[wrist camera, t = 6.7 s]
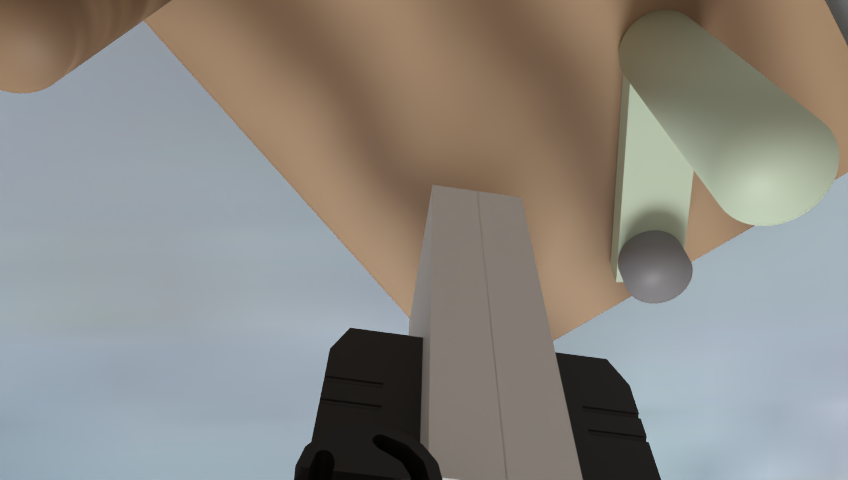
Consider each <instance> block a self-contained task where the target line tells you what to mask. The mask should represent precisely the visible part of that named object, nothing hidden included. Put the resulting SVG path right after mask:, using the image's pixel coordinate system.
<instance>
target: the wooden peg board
mask: <svg viewBox="0 0 848 480" xmlns="http://www.w3.org/2000/svg"><path fill="white" fill-rule="evenodd" d="M663 9H668V10H675V11H679V12H681V13H683V14H685V15H687V16H688V17H690V18H691V19H692V20H694V21H695V22H696V23H697V24H699V25H700V26H701V27H702V28H704V29H705V30H706V31H708V32H709V33H710V34H711V35H713V36H714V37H715V38H716V39H718V40H719V41H720V42H722V43H723V44H724V45H725V46H727V47H728V48H729V49H731V50H732V51H733V52H734V53H736V54H737V55H738V56H739V57H741V58H742V59H743V60H745V61H746V62H747V63H748V64H750V65H751V66H752V67H753V68H755V69H756V70H757V71H759V72H760V73H761V74H762V75H764V76H765V77H766V78H767V79H769V80H770V81H771V82H773V83H774V84H775V85H776V86H778V87H779V88H780V89H781V90H783V91H784V92H785V93H787V94H788V95H789V96H790V97H792V98H793V99H794V100H795V101H797V102H798V103H799V104H801V105H802V106H803V107H804V108H806V109H807V110H808V111H810V112H811V113H812V114H813V115H815V116H816V117H817V118H818V119H820V120H821V121H822V122H823V123H824V124H826V125H827V126H828V127H829V129H830V130H831V131H832V133H833V134H834V136H835V138H836V141H837V144H838V148H839V167H838V171H837V174H836V177H835V179H837V178H839V177H840V176H842V175H844V174H846V173H847V172H848V45H847V43H846V41H845V39H844V37H843V35H842V33H841V31H840V29H839V27H838V25H837V23H836V21H835V19H834V17H833V15H832V13H831V11H830V9H829V7H828V5H827V3H826V1H825V0H0V90H3V91H7V92H12V93H31V92H36V91H40V90H43V89H45V88H47V87H49V86H51V85H52V84H54V83H55V82H57V81H58V80H59V79H61V78H62V77H64V76H65V75H67V74H68V73H69V72H71V71H72V70H74V69H75V68H76V67H78V66H79V65H81V64H82V63H84V62H85V61H86V60H88V59H89V58H91V57H92V56H93V55H95V54H96V53H98V52H99V51H101V50H102V49H103V48H105V47H106V46H108V45H109V44H111V43H112V42H113V41H115V40H116V39H118V38H119V37H120V36H122V35H123V34H125V33H126V32H128V31H129V30H130V29H132V28H133V27H135V26H136V25H137V24H139V23H140V22H142V21H143V20H144V21H145V23H146V24H147V25H148V26H149V27H150V28H151V29H152V30H153V32H154V33H155V34H156V35H157V36H158V37H159V38H160V39H161V41H162V42H163V43H164V44H165V45H166V46H167V47H168V48H169V49H170V51H171V52H172V53H173V54H174V55H175V56H176V57H177V58H178V60H179V61H180V62H181V63H182V64H183V65H184V66H185V67H186V68H187V70H188V71H189V72H190V73H191V74H192V75H193V76H194V77H195V79H196V80H197V81H198V82H199V83H200V84H201V85H202V86H203V88H204V89H205V90H206V91H207V92H208V93H209V94H210V95H211V96H212V98H213V99H214V100H215V101H216V102H217V103H218V104H219V105H220V107H221V108H222V109H223V110H224V111H225V112H226V113H227V114H228V116H229V117H230V118H231V119H232V120H233V121H234V122H235V123H236V124H237V126H238V127H239V128H240V129H241V130H242V131H243V132H244V133H245V135H246V136H247V137H248V138H249V139H250V140H251V141H252V142H253V144H254V145H255V146H256V147H257V148H258V149H259V150H260V151H261V152H262V154H263V155H264V156H265V157H266V158H267V159H268V160H269V161H270V163H271V164H272V165H273V166H274V167H275V168H276V169H277V170H278V172H279V173H280V174H281V175H282V176H283V177H284V178H285V179H286V180H287V182H288V183H289V184H290V185H291V186H292V187H293V188H294V189H295V191H296V192H297V193H298V194H299V195H300V196H301V197H302V198H303V200H304V201H305V202H306V203H307V204H308V205H309V206H310V207H311V208H312V210H313V211H314V212H315V213H316V214H317V215H318V216H319V217H320V219H321V220H322V221H323V222H324V223H325V224H326V225H327V226H328V227H329V229H330V230H331V231H332V232H333V233H334V234H335V235H336V236H337V238H338V239H339V240H340V241H341V242H342V243H343V244H344V245H345V247H346V248H347V249H348V250H349V251H350V252H351V253H352V254H353V255H354V257H355V258H356V259H357V260H358V261H359V262H360V263H361V264H362V266H363V267H364V268H365V269H366V270H367V271H368V272H369V273H370V275H371V276H372V277H373V278H374V279H375V280H376V281H377V282H378V283H379V285H380V286H381V287H382V288H383V289H384V290H385V291H386V292H387V294H388V295H389V296H390V297H391V298H392V299H393V300H394V301H395V303H396V304H397V305H398V306H399V307H400V308H401V309H402V310H403V311H404V313H405V314H406V315H407V316H408V317H409V318H410V315H411V309H412V303H413V297H414V291H415V285H416V279H417V274H418V268H419V262H420V256H421V250H422V244H423V238H424V232H425V226H426V220H427V214H428V209H429V203H430V197H431V191H432V185H438V186H445V187H452V188H459V189H466V190H473V191H480V192H487V193H494V194H501V195H508V196H515V197H521V198H522V202H523V207H524V211H525V216H526V221H527V225H528V230H529V234H530V239H531V244H532V248H533V253H534V257H535V262H536V267H537V271H538V276H539V280H540V285H541V290H542V294H543V299H544V304H545V308H546V313H547V317H548V322H549V327H550V331H551V336H552V340H553V341H554V340H555V339H557V338H559V337H561V336H562V335H564V334H566V333H568V332H569V331H571V330H573V329H575V328H576V327H578V326H580V325H582V324H583V323H585V322H587V321H589V320H590V319H592V318H594V317H596V316H597V315H599V314H601V313H603V312H604V311H606V310H608V309H610V308H611V307H613V306H615V305H617V304H618V303H620V302H622V301H624V300H625V299H627V298H629V297H631V296H632V295H631V294H630V293H629V292H628V290H627V289H626V286H625V284H624V282H616V281H615V278H614V276H613V273H612V271H611V268H610V264H611V249H612V233H613V218H614V203H615V187H616V172H617V157H618V141H619V126H620V111H621V95H622V80H623V72H622V70H621V68H620V64H619V48H620V44H621V41H622V39H623V36H624V35H625V33H626V31H627V30H628V29H629V27H630V26H631V25H632V24H633V23H634V22H635V21H636V20H638V19H639V18H640V17H642V16H644V15H646V14H648V13H650V12H653V11H657V10H663ZM835 179H834V180H835ZM753 226H755V225H750V224H746V223H743V222H740V221H738V220H736V219H734V218H733V217H731V216H730V215H728V214H727V213H726V212H725V211H724V210H723V209H722V208H721V206H720V205H719V204H718V202H717V201H716V200H715V198H714V197H713V196H712V194H711V193H710V192H709V190H708V189H707V187H706V186H705V185H704V183H703V182H702V181H701V179H700V178H699V177H698V175H697V174H696V173H695V171H694V172H693V181H692V189H691V198H690V207H689V216H688V224H687V233H686V242H685V252H686V254H687V255H688V257H689V259H690V261H691V262H692V261H694V260H695V259H697V258H699V257H701V256H702V255H704V254H706V253H708V252H709V251H711V250H713V249H715V248H716V247H718V246H720V245H722V244H723V243H725V242H727V241H729V240H730V239H732V238H734V237H736V236H737V235H739V234H741V233H743V232H744V231H746V230H748V229H750V228H751V227H753Z"/></svg>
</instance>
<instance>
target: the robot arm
mask: <svg viewBox="0 0 848 480" xmlns="http://www.w3.org/2000/svg"><path fill="white" fill-rule="evenodd" d="M638 414H639V412H638V409H637V407H636V404H635V401H634V398H633V395H632V392H631V389H630V386H629V384H628V383H627V382H626V381H625V380H624V379H623V377H622V376H621V375H620V374H619V373H618V372H617V371H616V369H615V368H614V367H613V366H612V365H611V364H610V363H609V361H608V360H607V359H601V358H593V357H586V356H578V355H571V354H563V353H555V350H554V345H553V340H552V336H551V331H550V327H549V322H548V317H547V313H546V308H545V304H544V299H543V294H542V290H541V285H540V280H539V276H538V271H537V267H536V262H535V257H534V253H533V248H532V244H531V239H530V234H529V230H528V225H527V221H526V216H525V211H524V207H523V202H522V198H521V197H515V196H508V195H501V194H494V193H487V192H480V191H473V190H466V189H459V188H452V187H445V186H438V185H432V191H431V197H430V203H429V209H428V214H427V220H426V226H425V232H424V238H423V244H422V250H421V256H420V262H419V268H418V274H417V279H416V285H415V291H414V297H413V303H412V309H411V315H410V322H409V336H408V335H400V334H392V333H385V332H377V331H370V330H362V329H355V328H350V329H349V330H348V331H347V332H346V333H345V334H344V335H343V336H342V337H341V338H340V339H339V340H338V341H337V342H336V343H335V344H334V345H333V346H332V347H331V348H330V352H329V357H328V362H327V367H326V372H325V378H324V382H323V387H322V392H321V397H320V403H319V407H318V412H317V417H316V422H315V427H314V432H313V437H312V442H311V443H309V444H308V445H307V446H305V448H304V450H303V452H302V454H301V456H300V458H299V460H298V462H297V464H296V467H295V477H294V480H661V478H660V475H659V472H658V469H657V466H656V463H655V460H654V457H653V454H652V451H651V448H650V445H649V442H646V433H645V430H644V427H643V424H642V421H641V419H639V418H638Z"/></svg>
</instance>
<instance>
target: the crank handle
mask: <svg viewBox="0 0 848 480" xmlns="http://www.w3.org/2000/svg"><path fill="white" fill-rule="evenodd" d="M619 64H620V68H621V70H622V72H623V80H622V95H621V111H620V126H619V141H618V157H617V172H616V187H615V203H614V218H613V233H612V249H611V264H610V268H611V271H612V273H613V276H614V278H615V281H616V282H624V284H625V286H626V289H627V290H628V292H629V293H630V294H631V295H632V296H633V297H634V298H636V299H638V300H640V301H642V302H646V303H662V302H666V301H669V300H671V299H673V298H675V297H677V296H678V295H680V294H681V293H682V292H683V291H684V290H685V289H686V287H687V286H688V284H689V282H690V280H691V277H692V270H693V269H692V264H691V261H690V259H689V257H688V255H687V254H686V252H685V242H686V233H687V224H688V216H689V207H690V198H691V189H692V181H693V172H694V171H695V173H696V174H697V175H698V177H699V178H700V179H701V181H702V182H703V183H704V185H705V186H706V187H707V189H708V190H709V192H710V193H711V194H712V196H713V197H714V198H715V200H716V201H717V202H718V204H719V205H720V206H721V208H722V209H723V210H724V211H725V212H726V213H727V214H728V215H730V216H731V217H733V218H734V219H736V220H738V221H740V222H743V223H746V224H750V225H757V226H769V225H776V224H781V223H785V222H788V221H790V220H793V219H795V218H797V217H799V216H801V215H803V214H804V213H806V212H807V211H809V210H810V209H812V208H813V207H814V206H815V205H816V204H817V203H818V202H819V201H820V200H821V199H822V198H823V197H824V196H825V194H826V193H827V192H828V190H829V189H830V187H831V185H832V184H833V182H834V179H835V177H836V174H837V171H838V167H839V148H838V144H837V141H836V138H835V136H834V134H833V133H832V131H831V130H830V129H829V127H828V126H827V125H826V124H824V123H823V122H822V121H821V120H820V119H818V118H817V117H816V116H815V115H813V114H812V113H811V112H810V111H808V110H807V109H806V108H804V107H803V106H802V105H801V104H799V103H798V102H797V101H795V100H794V99H793V98H792V97H790V96H789V95H788V94H787V93H785V92H784V91H783V90H781V89H780V88H779V87H778V86H776V85H775V84H774V83H773V82H771V81H770V80H769V79H767V78H766V77H765V76H764V75H762V74H761V73H760V72H759V71H757V70H756V69H755V68H753V67H752V66H751V65H750V64H748V63H747V62H746V61H745V60H743V59H742V58H741V57H739V56H738V55H737V54H736V53H734V52H733V51H732V50H731V49H729V48H728V47H727V46H725V45H724V44H723V43H722V42H720V41H719V40H718V39H716V38H715V37H714V36H713V35H711V34H710V33H709V32H708V31H706V30H705V29H704V28H702V27H701V26H700V25H699V24H697V23H696V22H695V21H694V20H692V19H691V18H690V17H688V16H687V15H685V14H683V13H681V12H679V11H675V10H668V9H663V10H657V11H653V12H650V13H648V14H646V15H644V16H642V17H640V18H639V19H638V20H636V21H635V22H634V23H633V24H632V25H631V26H630V27H629V29H628V30H627V31H626V33H625V35H624V36H623V39H622V41H621V44H620V48H619Z"/></svg>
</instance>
